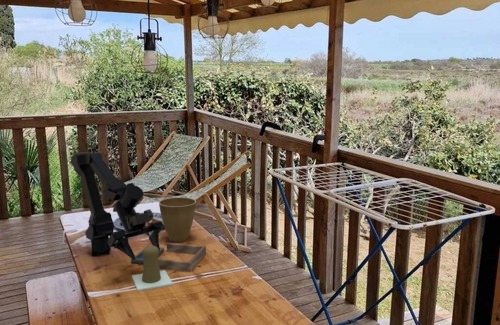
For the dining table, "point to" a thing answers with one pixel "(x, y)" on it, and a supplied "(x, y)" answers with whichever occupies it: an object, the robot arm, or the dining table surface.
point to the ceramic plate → (155, 218)
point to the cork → (151, 265)
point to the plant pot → (177, 217)
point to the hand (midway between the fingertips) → (147, 255)
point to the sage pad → (145, 286)
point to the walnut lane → (183, 265)
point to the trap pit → (140, 259)
